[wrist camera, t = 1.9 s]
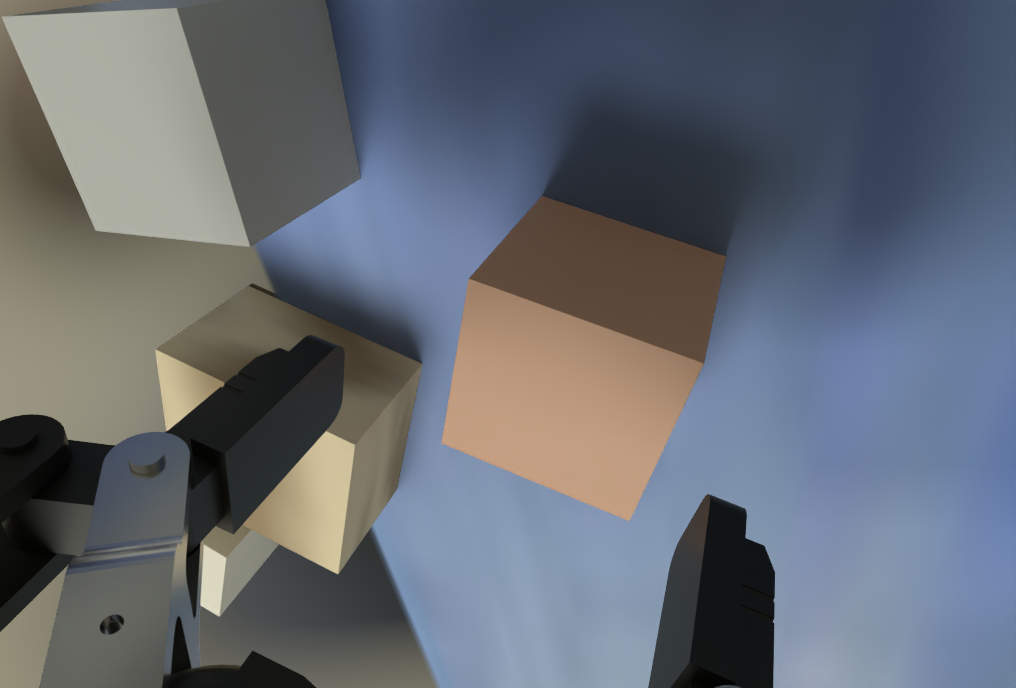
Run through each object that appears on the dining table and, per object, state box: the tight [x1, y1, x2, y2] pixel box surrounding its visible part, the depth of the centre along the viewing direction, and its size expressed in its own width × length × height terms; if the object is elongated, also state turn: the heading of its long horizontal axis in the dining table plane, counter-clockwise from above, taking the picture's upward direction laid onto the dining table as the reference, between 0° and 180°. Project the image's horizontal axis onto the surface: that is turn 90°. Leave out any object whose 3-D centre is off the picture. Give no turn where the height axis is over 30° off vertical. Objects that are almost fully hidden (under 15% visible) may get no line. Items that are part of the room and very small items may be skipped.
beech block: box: [155, 283, 422, 574], centre depth 23 cm, size 7×7×4 cm
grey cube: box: [2, 0, 361, 247], centre depth 17 cm, size 5×5×5 cm
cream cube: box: [200, 525, 278, 616], centre depth 28 cm, size 5×5×5 cm
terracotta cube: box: [442, 196, 726, 521], centre depth 16 cm, size 5×5×5 cm
